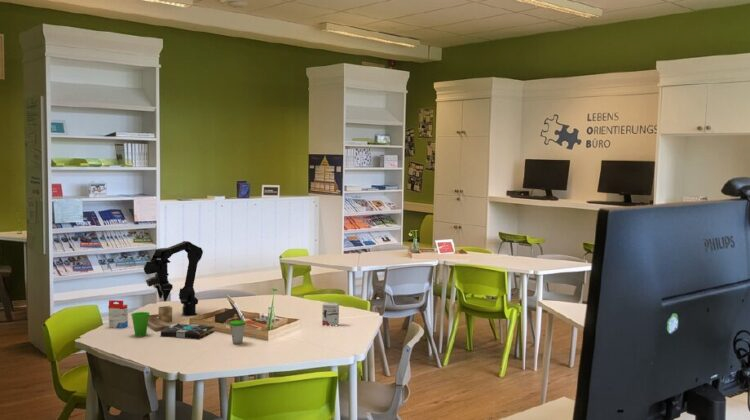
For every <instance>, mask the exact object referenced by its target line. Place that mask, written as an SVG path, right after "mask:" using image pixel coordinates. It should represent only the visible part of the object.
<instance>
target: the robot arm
mask: <svg viewBox="0 0 750 420" xmlns="http://www.w3.org/2000/svg"><path fill="white" fill-rule="evenodd" d="M182 251H185V252H186V253H187V255H186V256H187V260H188V265H187V271H186V276H185V282H184V285H183V287H182V288H180V289H179V293H178V299H179V300H180V303H181V304H182V305H183V306H182V309H181V310H182V312H181V313H182V315H184V317H185V316H186V317H188V316H196V315H198V314H197V313H196V312H197V311H196V306H197V305H198V303H199V300H198V298H197V297H196V292H195V289H194V284H195V279H196V272H197V267H198V263H199V262H200V261H201V260H202V256H203V253H204V250H203V249H202V247H200V246H198V245H196V244H194V243H192V242H191V241H189V240H188V241H187V240H186V241H185V240H183V241H181V242H179V243H176V244H174V245H171V246H169V247H161V248H160V247H159V248H157V249H155V251H154V253H153V254H152V257H151V258H150V260H148V261H146V263H145V264H144V267H143V271H144V274H146V275H153V274H154V275H155V276H152V277H150V278H148V279H145V282H146V284H147V286H148V287H154V288H155V289H156V291H157V296H158V298H159V299H163V302H167V300H168V297H169V296H170V293H171V291H172V290H173V288H174V287H173V284H172V283H170V281H169V279H168V278H169V276H170V274H169V272H168V264H169V263H171V261H170V258H171V257H172V256H173V255H175V254H178V253H180V252H182Z"/></svg>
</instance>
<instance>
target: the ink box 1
mask: <svg viewBox="0 0 750 420" xmlns="http://www.w3.org/2000/svg"><path fill="white" fill-rule="evenodd" d="M128 312H129V310H128V304H124V300H115V299H113V300H111V299H110V300H108V328H109V327H116V328H115V329H124V328H127V327H128V326H129V323H128V322H129V321H128V318H129V317H128V316H129V315H128V314H129V313H128Z"/></svg>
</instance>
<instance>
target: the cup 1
mask: <svg viewBox="0 0 750 420" xmlns="http://www.w3.org/2000/svg"><path fill="white" fill-rule="evenodd" d="M130 315H131V318H132V326H133V331H134V335H135V337H145V336H146V335H147V331H148V326H147V325H148V319H149V315H151V313H150V312H148V311H137V312H132V313H130Z"/></svg>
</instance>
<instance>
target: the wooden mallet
mask: <svg viewBox="0 0 750 420" xmlns="http://www.w3.org/2000/svg"><path fill="white" fill-rule="evenodd" d="M153 317H157V318H159V319H161V320H162V321H164V322H166V323H172V322H173V306H171V305H164V306H163V305H162V306H158V314H155V313H154V314H149V318H153Z"/></svg>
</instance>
